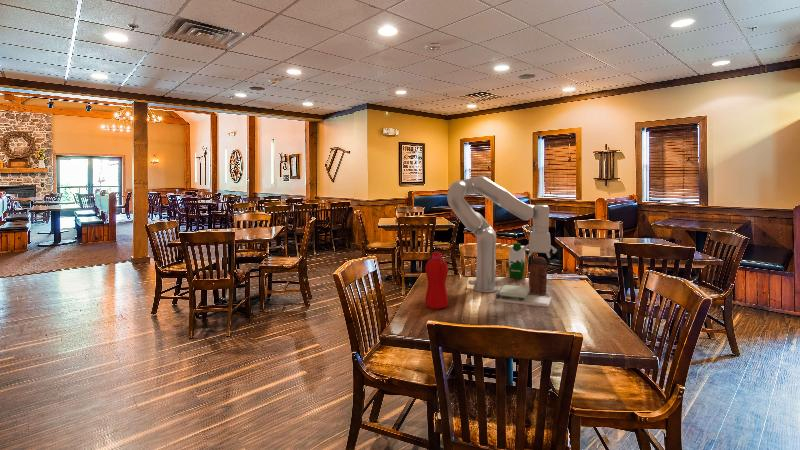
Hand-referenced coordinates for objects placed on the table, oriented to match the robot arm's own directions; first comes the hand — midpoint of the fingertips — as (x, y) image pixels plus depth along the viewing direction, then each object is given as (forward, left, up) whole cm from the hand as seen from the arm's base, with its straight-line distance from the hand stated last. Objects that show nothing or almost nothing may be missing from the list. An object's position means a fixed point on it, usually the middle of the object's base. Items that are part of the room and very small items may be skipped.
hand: (539, 264), depth 224 cm
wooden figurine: (0, 0, -14) cm, 14 cm away
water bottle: (-39, -43, -15) cm, 60 cm away
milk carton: (-16, +30, -15) cm, 37 cm away
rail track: (-5, -17, -14) cm, 23 cm away
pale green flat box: (-9, -17, -13) cm, 23 cm away
